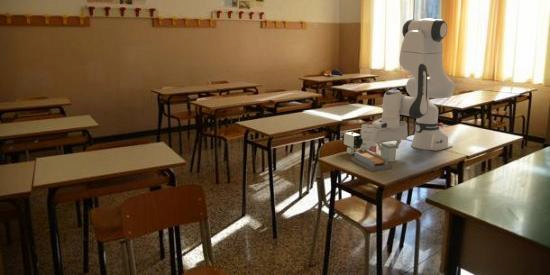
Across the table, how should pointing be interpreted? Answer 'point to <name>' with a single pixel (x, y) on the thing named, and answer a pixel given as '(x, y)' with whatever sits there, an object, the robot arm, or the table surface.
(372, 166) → the channel rail
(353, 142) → the pneumatic valve
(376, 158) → the brown flat bar
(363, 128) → the ink cartridge box
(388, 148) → the module block
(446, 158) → the table surface
